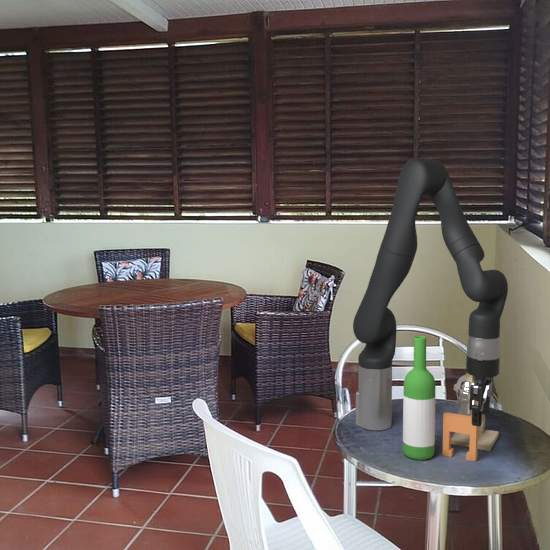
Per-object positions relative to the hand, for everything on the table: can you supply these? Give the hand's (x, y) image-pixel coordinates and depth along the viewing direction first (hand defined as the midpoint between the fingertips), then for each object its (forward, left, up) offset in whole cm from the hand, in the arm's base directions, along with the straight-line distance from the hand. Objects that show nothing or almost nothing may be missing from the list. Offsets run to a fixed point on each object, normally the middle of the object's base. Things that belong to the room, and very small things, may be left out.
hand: (480, 419), depth 160 cm
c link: (-5, 0, -10) cm, 11 cm away
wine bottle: (-14, -3, -11) cm, 18 cm away
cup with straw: (-8, +24, -11) cm, 27 cm away
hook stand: (-4, +11, -10) cm, 16 cm away
